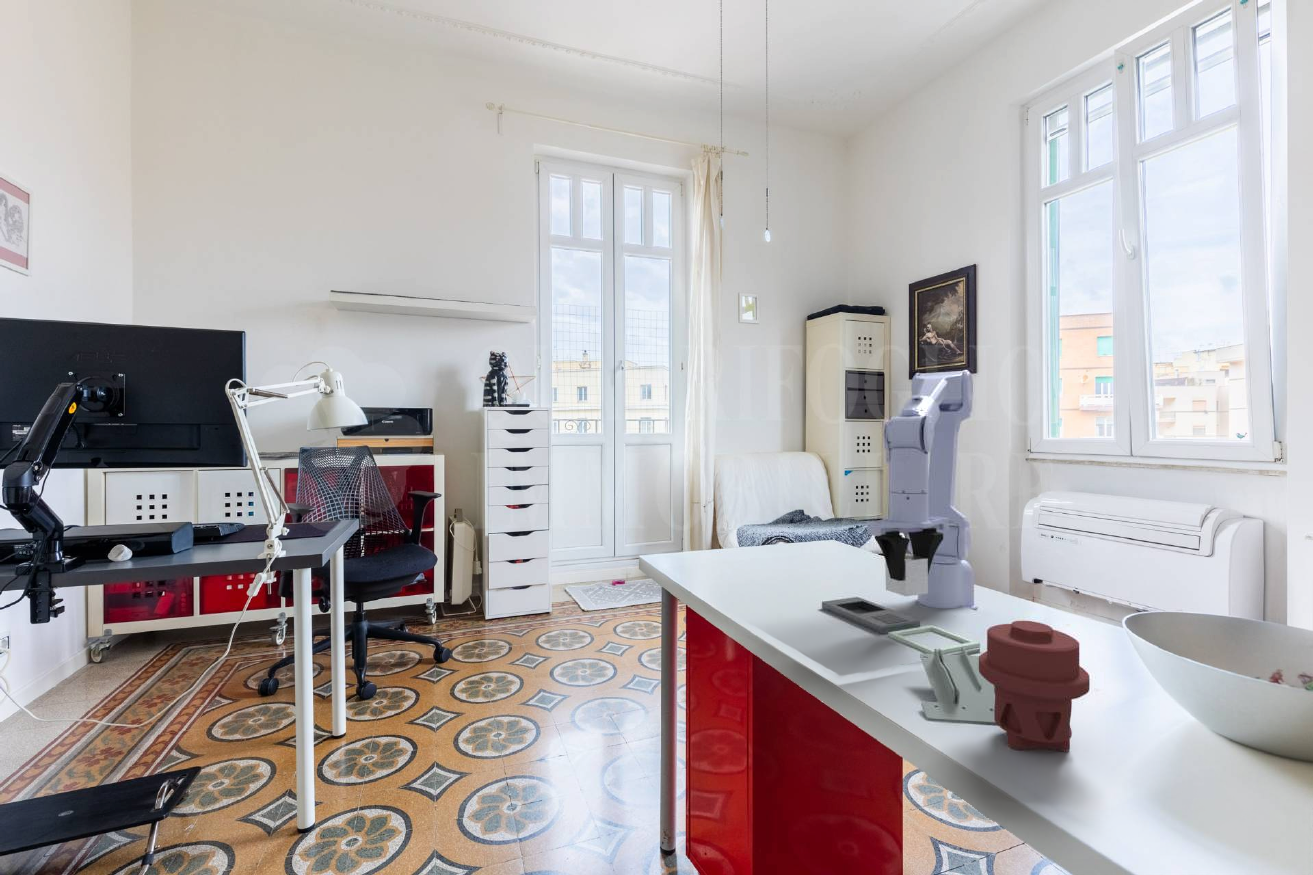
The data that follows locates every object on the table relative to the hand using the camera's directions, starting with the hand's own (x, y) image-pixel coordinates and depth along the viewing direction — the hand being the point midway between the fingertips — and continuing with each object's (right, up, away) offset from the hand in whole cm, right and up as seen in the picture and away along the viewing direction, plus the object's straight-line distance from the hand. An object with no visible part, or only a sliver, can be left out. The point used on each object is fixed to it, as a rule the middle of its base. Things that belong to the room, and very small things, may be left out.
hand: (908, 577), depth 96 cm
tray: (+2, -10, -4) cm, 11 cm away
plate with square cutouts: (-4, -10, +8) cm, 13 cm away
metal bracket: (-1, -11, -22) cm, 24 cm away
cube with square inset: (0, -2, 0) cm, 2 cm away
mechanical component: (0, -10, -32) cm, 33 cm away
